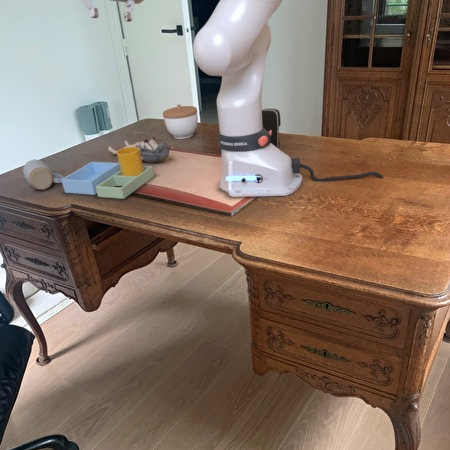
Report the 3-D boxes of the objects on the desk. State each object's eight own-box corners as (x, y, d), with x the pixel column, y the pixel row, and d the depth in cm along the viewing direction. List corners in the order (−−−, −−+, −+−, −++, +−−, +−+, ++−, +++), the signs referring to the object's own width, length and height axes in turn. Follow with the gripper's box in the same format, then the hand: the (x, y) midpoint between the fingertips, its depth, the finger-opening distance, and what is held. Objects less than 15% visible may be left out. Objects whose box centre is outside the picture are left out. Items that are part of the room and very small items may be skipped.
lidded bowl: (205, 131, 167) (202, 100, 161) (190, 141, 158) (185, 109, 152) (177, 130, 172) (172, 100, 165) (160, 140, 163) (155, 109, 156)
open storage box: (123, 175, 136) (119, 162, 134) (94, 194, 126) (90, 181, 123) (94, 174, 140) (91, 161, 138) (65, 192, 130) (60, 179, 127)
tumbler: (149, 177, 133) (143, 147, 128) (138, 185, 128) (131, 154, 123) (131, 176, 135) (124, 146, 130) (119, 184, 131) (111, 154, 125)
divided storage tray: (154, 175, 133) (152, 166, 132) (124, 198, 121) (121, 188, 119) (130, 174, 136) (128, 165, 135) (98, 196, 124) (95, 186, 122)
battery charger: (282, 144, 145) (281, 107, 138) (277, 148, 142) (276, 111, 135) (263, 143, 148) (262, 107, 141) (258, 146, 145) (256, 110, 139)
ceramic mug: (33, 194, 131) (24, 169, 127) (28, 186, 137) (19, 162, 132) (68, 184, 135) (61, 160, 131) (61, 177, 141) (54, 154, 137)
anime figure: (127, 134, 157) (175, 134, 136) (133, 155, 161) (181, 158, 140) (103, 142, 153) (150, 143, 131) (110, 163, 156) (156, 167, 135)
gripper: (64, -61, 98) (77, 11, 102) (144, -44, 110) (152, 19, 114) (54, -49, 103) (67, 19, 107) (131, -35, 115) (140, 26, 119)
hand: (112, 19), depth 111 cm, fingers open, 8 cm apart
